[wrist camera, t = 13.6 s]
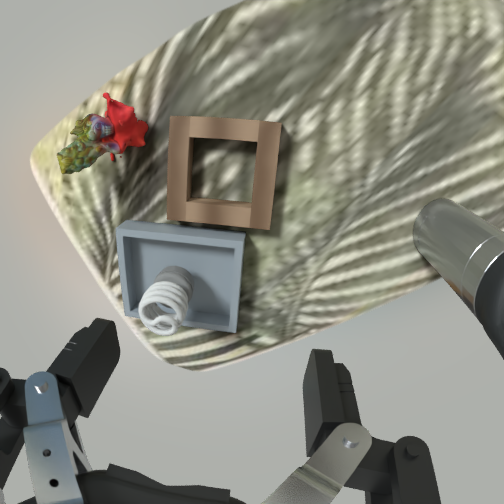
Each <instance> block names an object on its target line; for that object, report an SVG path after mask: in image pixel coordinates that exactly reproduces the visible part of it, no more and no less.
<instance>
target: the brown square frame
mask: <svg viewBox="0 0 504 504" xmlns="http://www.w3.org/2000/svg"><path fill="white" fill-rule="evenodd" d="M281 124H282V123H278V122H268V121H258V120H247V119H234V118H217V117H194V116H170V128H169V148H168V175H167V220H177V221H188V222H198V223H208V224H218V225H228V226H238V227H247V228H256V229H265V230H270V223H271V215H272V206H273V197H274V188H275V179H276V171H277V161H278V152H279V143H280V134H281ZM194 137H198V138H215V139H230V140H242V141H254V142H257V152H256V163H255V173H254V184H253V194H252V203H249V202H239V201H229V200H218V199H207V198H195V197H191V188H192V166H193V148H194Z"/></svg>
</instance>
